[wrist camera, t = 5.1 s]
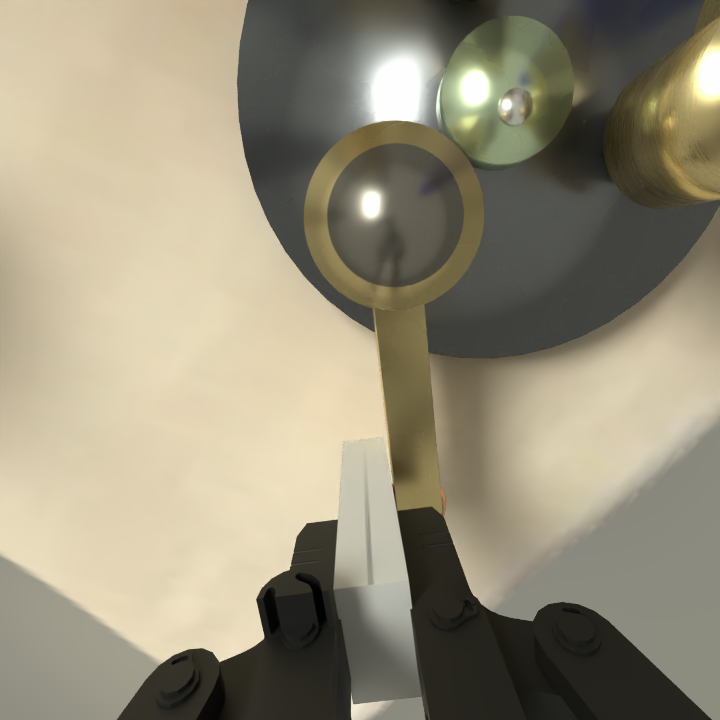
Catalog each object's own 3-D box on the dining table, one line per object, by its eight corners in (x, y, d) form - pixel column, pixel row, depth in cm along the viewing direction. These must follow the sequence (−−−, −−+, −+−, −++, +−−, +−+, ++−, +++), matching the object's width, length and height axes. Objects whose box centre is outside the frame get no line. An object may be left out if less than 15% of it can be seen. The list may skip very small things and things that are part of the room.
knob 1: (309, 170, 13) (287, 127, 9) (446, 152, 13) (484, 101, 9) (356, 509, 16) (355, 589, 12) (470, 496, 15) (507, 573, 12)
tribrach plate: (293, -239, 13) (276, -375, 10) (802, -98, 13) (911, -188, 11) (220, 302, 16) (192, 309, 14) (623, 387, 17) (672, 409, 14)
